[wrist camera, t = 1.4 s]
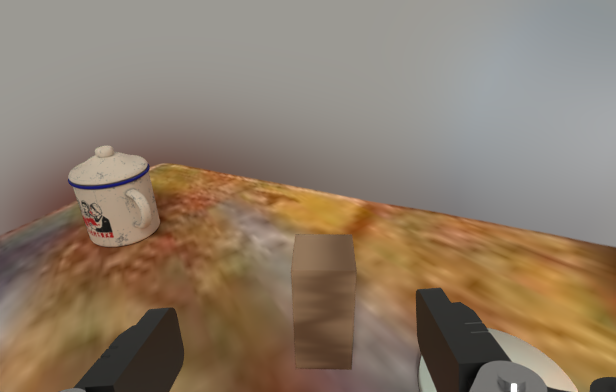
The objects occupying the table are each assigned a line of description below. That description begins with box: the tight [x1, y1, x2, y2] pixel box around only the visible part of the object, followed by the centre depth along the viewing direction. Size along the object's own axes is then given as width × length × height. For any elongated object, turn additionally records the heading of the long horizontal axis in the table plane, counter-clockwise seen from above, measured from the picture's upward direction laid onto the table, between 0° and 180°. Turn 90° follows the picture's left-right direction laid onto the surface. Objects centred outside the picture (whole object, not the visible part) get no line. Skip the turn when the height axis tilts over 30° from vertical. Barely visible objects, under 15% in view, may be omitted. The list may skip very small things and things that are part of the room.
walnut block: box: [291, 234, 357, 369], centre depth 30 cm, size 4×4×10 cm
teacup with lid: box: [68, 146, 160, 247], centre depth 46 cm, size 12×9×12 cm
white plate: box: [418, 328, 578, 392], centre depth 27 cm, size 11×11×1 cm
